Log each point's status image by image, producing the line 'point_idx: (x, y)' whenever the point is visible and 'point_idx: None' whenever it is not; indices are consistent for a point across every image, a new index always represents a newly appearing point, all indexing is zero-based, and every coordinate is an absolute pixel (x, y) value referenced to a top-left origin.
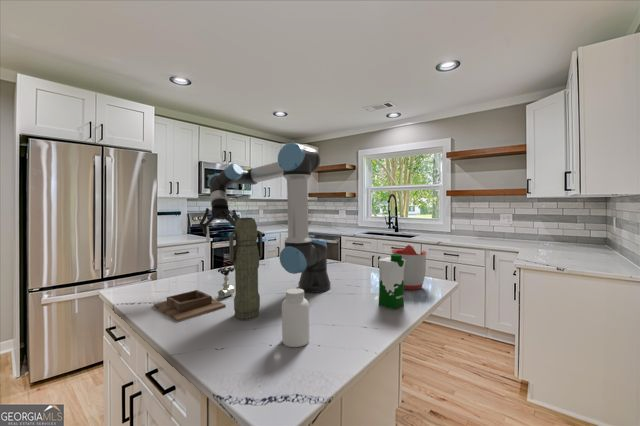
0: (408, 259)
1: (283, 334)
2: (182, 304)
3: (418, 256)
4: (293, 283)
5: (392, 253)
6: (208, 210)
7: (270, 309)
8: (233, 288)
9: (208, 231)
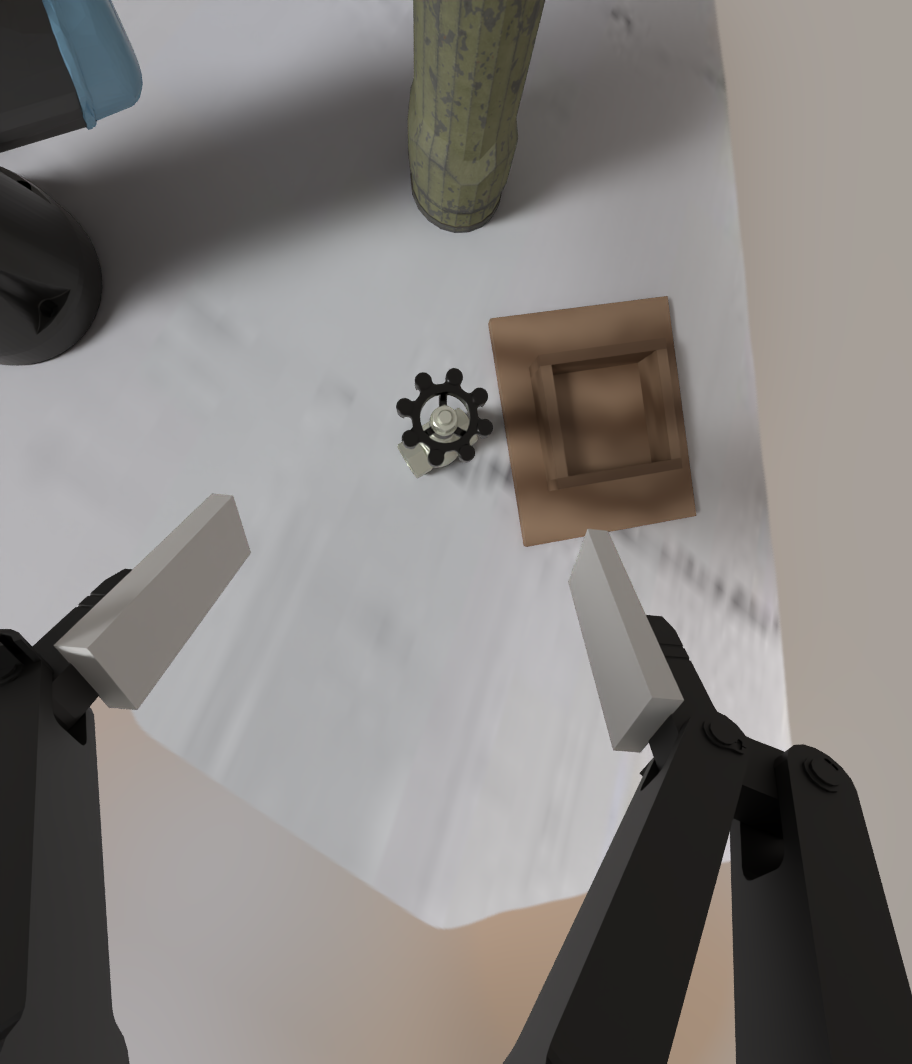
0: None
1: None
2: (655, 339)
3: None
4: (64, 419)
5: None
6: None
7: (357, 174)
8: (402, 442)
9: (626, 609)
